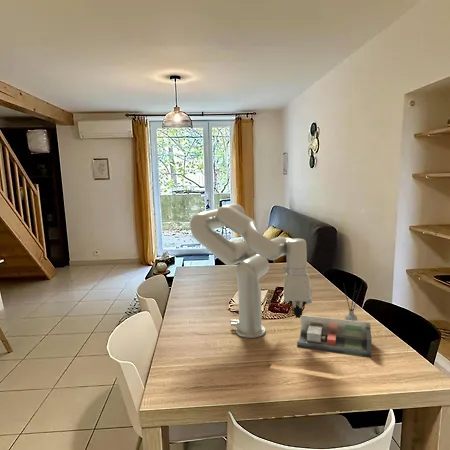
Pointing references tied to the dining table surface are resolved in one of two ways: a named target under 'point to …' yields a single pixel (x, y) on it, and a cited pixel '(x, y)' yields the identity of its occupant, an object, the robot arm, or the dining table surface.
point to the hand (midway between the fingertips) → (298, 316)
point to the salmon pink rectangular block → (331, 339)
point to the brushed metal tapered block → (315, 334)
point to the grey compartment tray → (338, 335)
